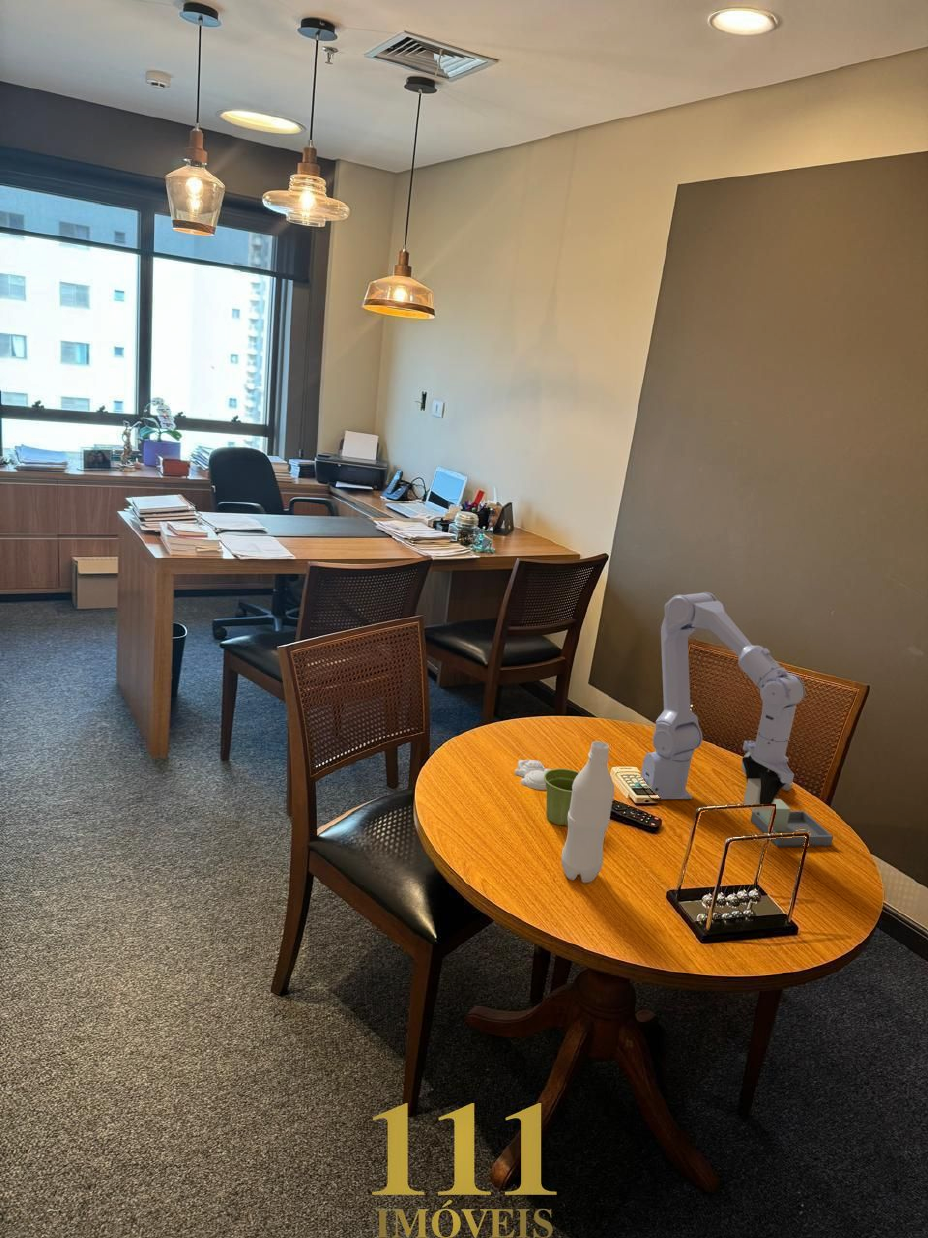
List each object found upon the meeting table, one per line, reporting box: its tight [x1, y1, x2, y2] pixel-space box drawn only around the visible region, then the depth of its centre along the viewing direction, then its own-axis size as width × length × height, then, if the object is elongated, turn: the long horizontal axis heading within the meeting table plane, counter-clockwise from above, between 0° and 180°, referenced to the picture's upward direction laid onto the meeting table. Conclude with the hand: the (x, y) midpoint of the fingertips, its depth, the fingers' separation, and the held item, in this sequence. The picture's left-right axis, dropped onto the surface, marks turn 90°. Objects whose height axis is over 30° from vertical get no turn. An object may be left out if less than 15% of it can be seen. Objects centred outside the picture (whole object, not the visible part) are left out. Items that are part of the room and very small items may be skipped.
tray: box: [750, 810, 834, 848], centre depth 167 cm, size 12×10×2 cm
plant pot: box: [544, 768, 580, 827], centre depth 163 cm, size 9×9×9 cm
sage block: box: [759, 798, 792, 831], centre depth 168 cm, size 4×4×5 cm
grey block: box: [742, 779, 776, 812], centre depth 162 cm, size 4×4×5 cm
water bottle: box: [560, 740, 615, 884], centre depth 142 cm, size 7×7×25 cm
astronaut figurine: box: [514, 759, 552, 791], centre depth 180 cm, size 9×12×3 cm
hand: (758, 799), depth 162 cm, fingers closed on grey block, 4 cm apart
